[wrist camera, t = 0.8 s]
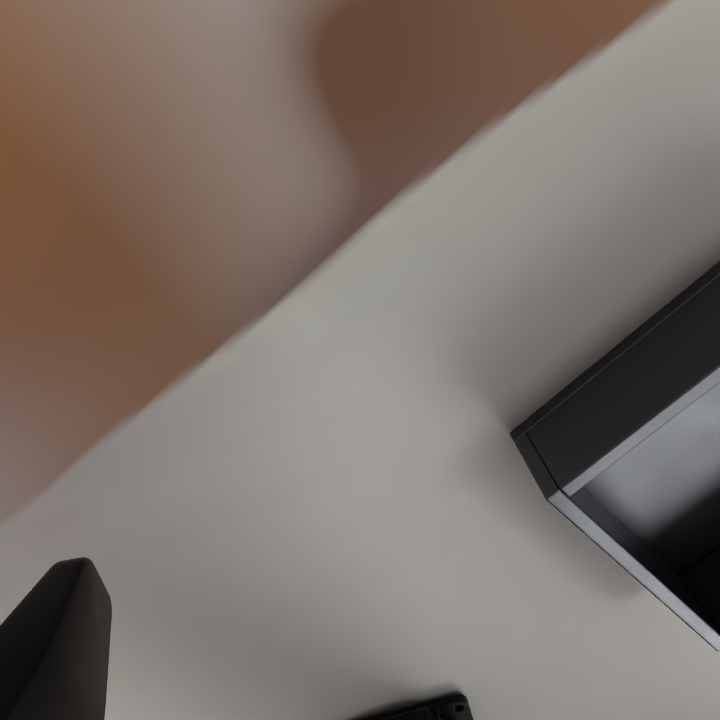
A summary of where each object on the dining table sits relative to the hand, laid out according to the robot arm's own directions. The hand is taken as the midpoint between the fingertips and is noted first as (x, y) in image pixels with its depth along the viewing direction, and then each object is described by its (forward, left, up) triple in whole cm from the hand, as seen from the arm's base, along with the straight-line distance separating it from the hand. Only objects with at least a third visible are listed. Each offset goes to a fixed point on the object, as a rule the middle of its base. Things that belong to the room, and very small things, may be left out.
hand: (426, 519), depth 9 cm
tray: (-12, -13, -15) cm, 23 cm away
